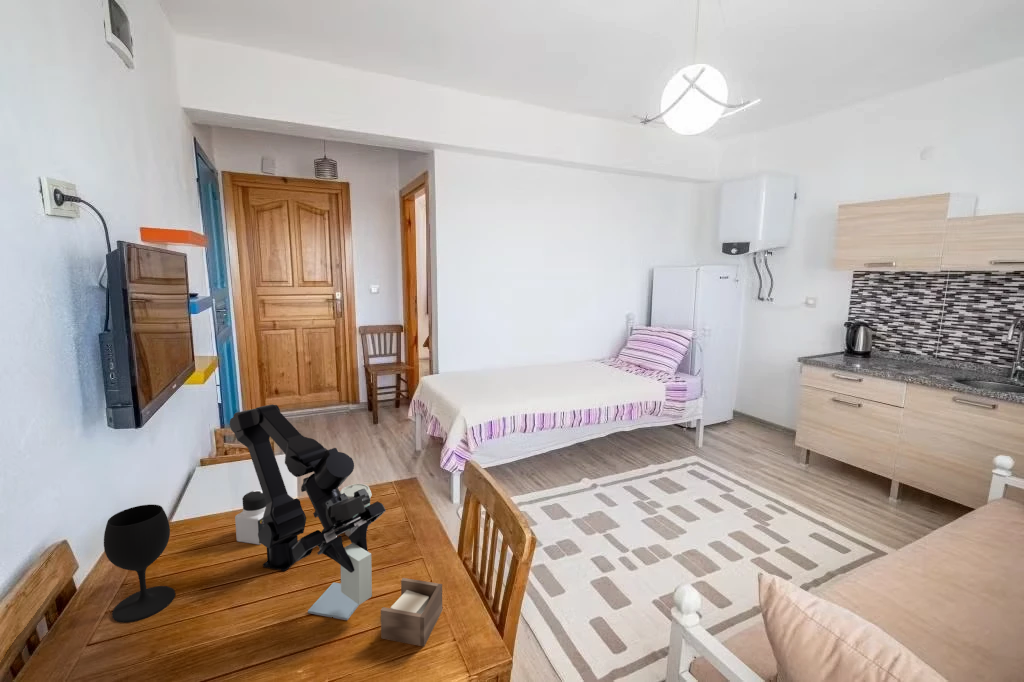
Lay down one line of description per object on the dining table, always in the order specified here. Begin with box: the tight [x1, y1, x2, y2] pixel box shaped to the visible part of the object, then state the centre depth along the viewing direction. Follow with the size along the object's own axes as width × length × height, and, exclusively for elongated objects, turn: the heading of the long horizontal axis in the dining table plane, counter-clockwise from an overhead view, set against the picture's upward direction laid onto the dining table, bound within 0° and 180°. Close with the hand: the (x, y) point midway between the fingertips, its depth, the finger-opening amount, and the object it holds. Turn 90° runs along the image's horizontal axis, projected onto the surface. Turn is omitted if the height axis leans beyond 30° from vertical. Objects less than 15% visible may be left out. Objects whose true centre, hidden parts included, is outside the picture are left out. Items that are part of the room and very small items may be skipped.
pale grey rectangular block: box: [340, 543, 373, 606], centre depth 91 cm, size 6×3×10 cm, turn 55°
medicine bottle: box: [234, 489, 266, 545], centre depth 119 cm, size 7×7×12 cm
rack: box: [380, 577, 443, 647], centre depth 90 cm, size 9×10×6 cm
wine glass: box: [103, 504, 176, 624], centre depth 93 cm, size 10×10×20 cm
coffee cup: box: [339, 483, 373, 537], centre depth 122 cm, size 8×8×12 cm
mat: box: [307, 582, 360, 621], centre depth 96 cm, size 9×9×1 cm
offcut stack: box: [390, 590, 429, 614], centre depth 90 cm, size 6×6×4 cm
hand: (360, 567), depth 90 cm, fingers closed on pale grey rectangular block, 3 cm apart
